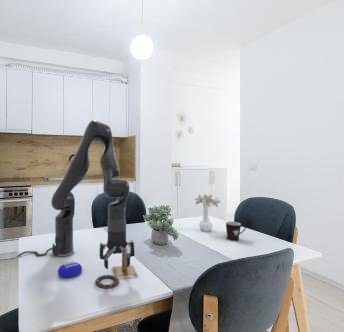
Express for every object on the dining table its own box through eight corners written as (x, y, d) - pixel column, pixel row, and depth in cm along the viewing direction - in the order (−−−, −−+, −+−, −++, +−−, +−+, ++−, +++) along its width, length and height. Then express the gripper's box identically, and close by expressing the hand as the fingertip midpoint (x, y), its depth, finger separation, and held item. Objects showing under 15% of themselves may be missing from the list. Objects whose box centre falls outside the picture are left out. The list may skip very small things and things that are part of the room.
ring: (96, 292, 94) (96, 287, 94) (94, 279, 103) (94, 275, 103) (121, 289, 96) (121, 284, 96) (116, 277, 105) (116, 273, 105)
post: (116, 279, 104) (116, 253, 103) (113, 269, 113) (112, 245, 112) (136, 277, 106) (137, 251, 105) (131, 267, 114) (131, 244, 114)
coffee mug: (225, 240, 150) (225, 224, 150) (225, 236, 158) (225, 220, 158) (246, 243, 146) (247, 226, 145) (245, 238, 154) (245, 222, 153)
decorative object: (78, 254, 113) (84, 266, 104) (79, 265, 114) (84, 278, 105) (55, 259, 109) (59, 271, 100) (56, 270, 110) (59, 284, 101)
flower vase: (222, 230, 171) (222, 194, 169) (204, 234, 161) (205, 197, 159) (206, 225, 181) (207, 192, 180) (189, 229, 171) (190, 194, 170)
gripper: (131, 224, 104) (131, 261, 105) (98, 226, 101) (98, 265, 102) (136, 229, 97) (136, 269, 98) (100, 232, 94) (101, 273, 95)
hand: (117, 267), depth 100 cm, fingers open, 8 cm apart
